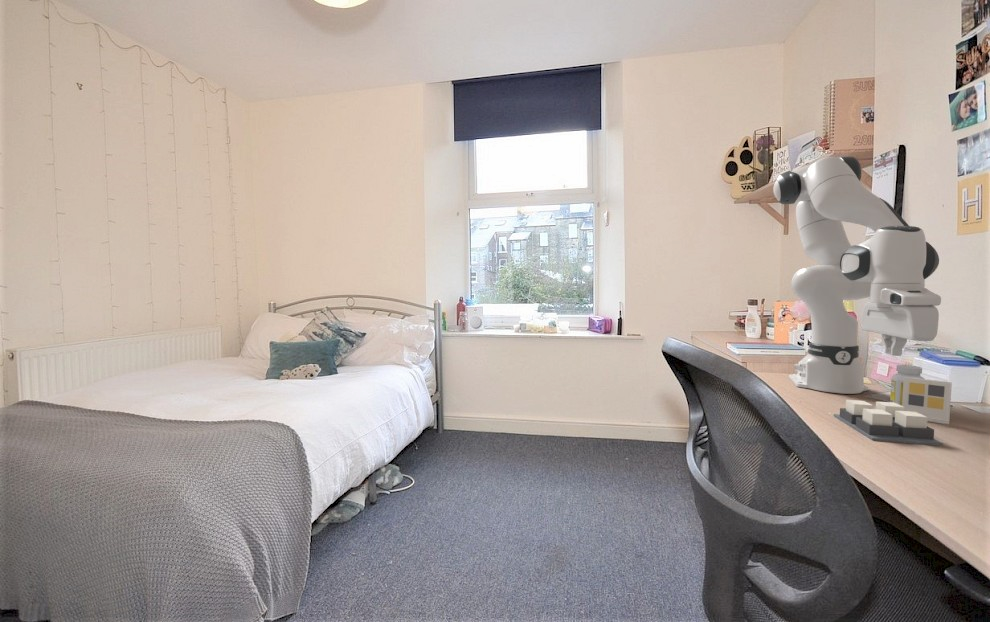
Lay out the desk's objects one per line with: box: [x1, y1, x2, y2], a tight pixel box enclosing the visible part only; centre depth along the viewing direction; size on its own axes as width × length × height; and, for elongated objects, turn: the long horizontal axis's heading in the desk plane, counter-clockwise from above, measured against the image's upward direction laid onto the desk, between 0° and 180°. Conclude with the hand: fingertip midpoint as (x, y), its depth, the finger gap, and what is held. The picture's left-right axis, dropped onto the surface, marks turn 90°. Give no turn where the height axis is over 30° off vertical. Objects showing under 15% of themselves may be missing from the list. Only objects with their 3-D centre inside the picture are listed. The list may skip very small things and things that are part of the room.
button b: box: [895, 411, 928, 429], centre depth 88 cm, size 4×4×3 cm
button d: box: [862, 408, 893, 426], centre depth 90 cm, size 4×4×3 cm
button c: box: [845, 399, 874, 415], centre depth 97 cm, size 4×4×3 cm
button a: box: [875, 401, 905, 417], centre depth 95 cm, size 4×4×3 cm
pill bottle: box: [889, 364, 925, 406], centre depth 106 cm, size 6×6×12 cm
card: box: [902, 377, 953, 425], centre depth 98 cm, size 2×8×10 cm, turn 44°
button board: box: [833, 407, 944, 446], centre depth 93 cm, size 16×12×3 cm
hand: (893, 354), depth 94 cm, fingers closed
